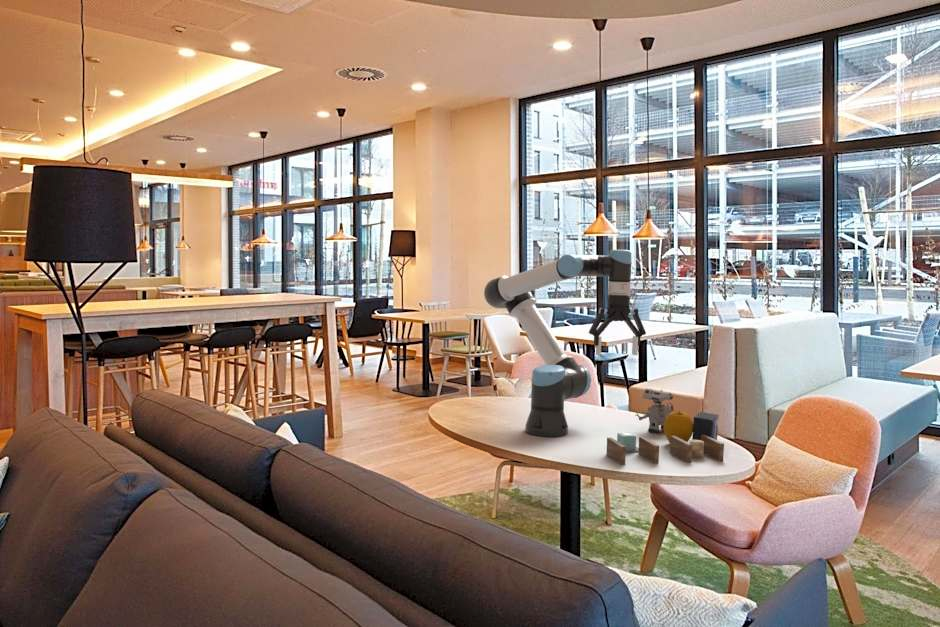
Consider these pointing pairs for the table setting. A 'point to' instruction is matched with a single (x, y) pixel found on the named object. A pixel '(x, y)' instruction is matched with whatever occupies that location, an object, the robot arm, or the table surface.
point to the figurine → (657, 409)
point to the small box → (705, 425)
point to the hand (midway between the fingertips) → (616, 355)
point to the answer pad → (632, 450)
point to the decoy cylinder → (697, 448)
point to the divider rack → (676, 448)
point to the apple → (678, 426)
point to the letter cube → (627, 440)
